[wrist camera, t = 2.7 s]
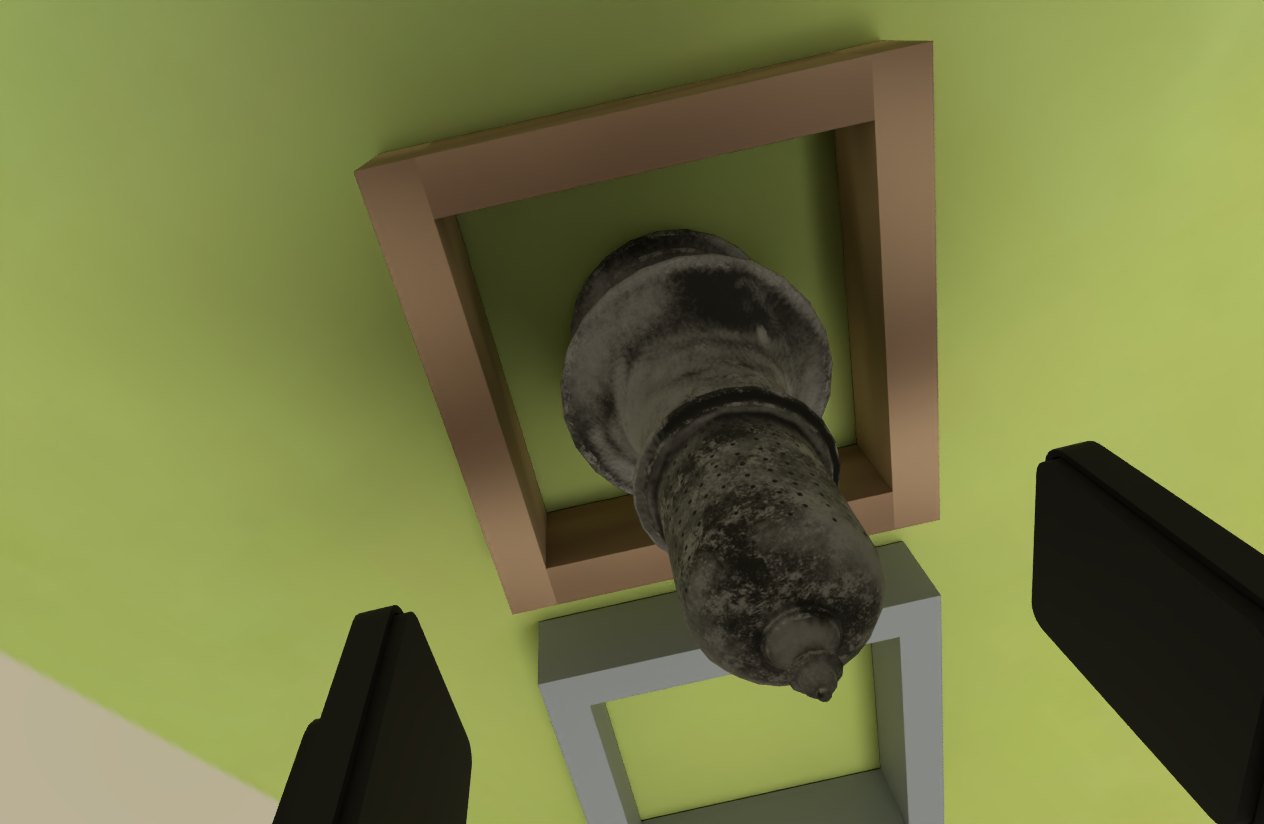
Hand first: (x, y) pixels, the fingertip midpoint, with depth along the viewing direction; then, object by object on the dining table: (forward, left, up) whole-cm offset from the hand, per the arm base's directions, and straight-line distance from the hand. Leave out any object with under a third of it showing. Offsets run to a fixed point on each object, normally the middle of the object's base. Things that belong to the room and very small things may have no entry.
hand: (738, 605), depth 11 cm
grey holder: (+13, +1, -10) cm, 16 cm away
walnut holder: (-1, +1, -10) cm, 9 cm away
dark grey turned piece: (-1, +1, -10) cm, 10 cm away
